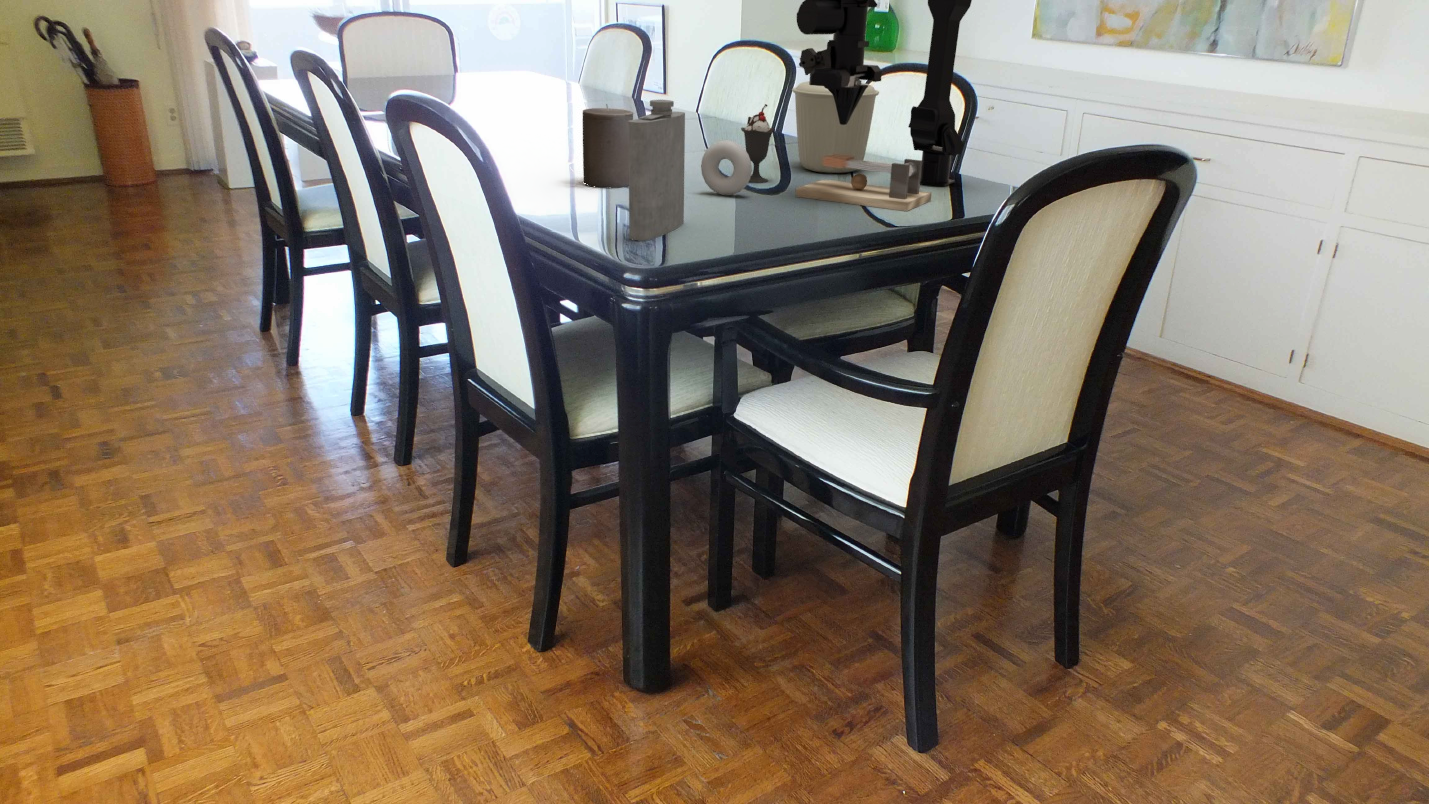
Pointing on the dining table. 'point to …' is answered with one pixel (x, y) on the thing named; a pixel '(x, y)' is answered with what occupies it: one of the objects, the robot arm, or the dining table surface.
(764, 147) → the sundae
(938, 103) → the robot arm
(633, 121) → the hip flask
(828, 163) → the lever
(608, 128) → the pillar candle
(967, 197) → the dining table surface
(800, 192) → the base
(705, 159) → the donut
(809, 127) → the canister
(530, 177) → the dining table surface
